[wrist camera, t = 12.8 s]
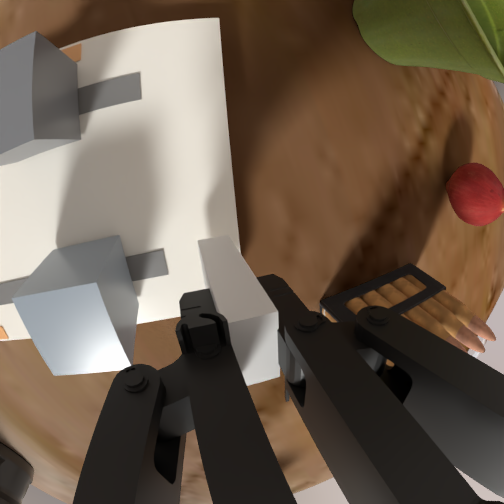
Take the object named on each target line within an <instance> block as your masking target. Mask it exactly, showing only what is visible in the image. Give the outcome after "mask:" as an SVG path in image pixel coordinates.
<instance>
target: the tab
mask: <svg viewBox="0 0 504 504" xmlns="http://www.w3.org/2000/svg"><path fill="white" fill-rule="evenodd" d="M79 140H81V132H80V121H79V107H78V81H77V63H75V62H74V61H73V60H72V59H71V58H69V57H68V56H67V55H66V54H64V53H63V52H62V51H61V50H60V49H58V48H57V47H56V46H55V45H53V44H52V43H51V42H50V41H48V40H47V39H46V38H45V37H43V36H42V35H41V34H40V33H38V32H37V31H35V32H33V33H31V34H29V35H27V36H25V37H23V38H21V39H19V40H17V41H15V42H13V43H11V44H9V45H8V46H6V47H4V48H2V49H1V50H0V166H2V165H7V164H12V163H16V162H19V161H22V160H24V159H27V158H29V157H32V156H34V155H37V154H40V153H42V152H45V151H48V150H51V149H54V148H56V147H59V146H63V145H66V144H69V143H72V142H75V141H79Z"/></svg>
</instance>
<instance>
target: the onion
mask: <svg viewBox="0 0 504 504" xmlns="http://www.w3.org/2000/svg"><path fill="white" fill-rule="evenodd" d="M446 191H447V193H448V196H449V200H450V203H451V205H452V207H453V209H454V211H455V213H456V214H457V216H458V217H459V218H460V219H462V220H463V221H464V222H466V223H468V224H471V225H474V226H483V225H487V224H489V223H491V222H493V221H495V220H496V219H497V218H498V217H499V216H500V215H501V214H502V213H503V212H504V188H503V186H502V184H501V182H500V181H499V179H498V178H497V177H496V175H495V174H494V173H493V172H492V171H491V170H490V169H489V168H487V167H485V166H484V165H482V164H479V163H468V164H464V165H462V166H461V167H459V168H458V169H457V170H456V171H455V172H454V173H453V175H452V176H451V178H450V179H449V180H448V181H447V183H446Z"/></svg>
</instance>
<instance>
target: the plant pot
mask: <svg viewBox="0 0 504 504" xmlns="http://www.w3.org/2000/svg"><path fill="white" fill-rule="evenodd" d="M353 17H354V19H355V20H356V22H357V24H358V27H359V30H360V34H361V36H362V38H363V39H364V41H365V42H366V43H367V44H368V46H369V47H370V48H371V49H372V50H373V51H374V52H375V53H376V54H377V55H379V56H380V57H381V58H383V59H384V60H386V61H388V62H390V63H392V64H395V65H402V66H419V67H431V68H440V69H448V70H455V71H462V72H468V73H473V74H478V75H481V76H482V77H484V78H486V79H489V80H494V81H498V82H501V83H504V0H355V1H354V4H353Z"/></svg>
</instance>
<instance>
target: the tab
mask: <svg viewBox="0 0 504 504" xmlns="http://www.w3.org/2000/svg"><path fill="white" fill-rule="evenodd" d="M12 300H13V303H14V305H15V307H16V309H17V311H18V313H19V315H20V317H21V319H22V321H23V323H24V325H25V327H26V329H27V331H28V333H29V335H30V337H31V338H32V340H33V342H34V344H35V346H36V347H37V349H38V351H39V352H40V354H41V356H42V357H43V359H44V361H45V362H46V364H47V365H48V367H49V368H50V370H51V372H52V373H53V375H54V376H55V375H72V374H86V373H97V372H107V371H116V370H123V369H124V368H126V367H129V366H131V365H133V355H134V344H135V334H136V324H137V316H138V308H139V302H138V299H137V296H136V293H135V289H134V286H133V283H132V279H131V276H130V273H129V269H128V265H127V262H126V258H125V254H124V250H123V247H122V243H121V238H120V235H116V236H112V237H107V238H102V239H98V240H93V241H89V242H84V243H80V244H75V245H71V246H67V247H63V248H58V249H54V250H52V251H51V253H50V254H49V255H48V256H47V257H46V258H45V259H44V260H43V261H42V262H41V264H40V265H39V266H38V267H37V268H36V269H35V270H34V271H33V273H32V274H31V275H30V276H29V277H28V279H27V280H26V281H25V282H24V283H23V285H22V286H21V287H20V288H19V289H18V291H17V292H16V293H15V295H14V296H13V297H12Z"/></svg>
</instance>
